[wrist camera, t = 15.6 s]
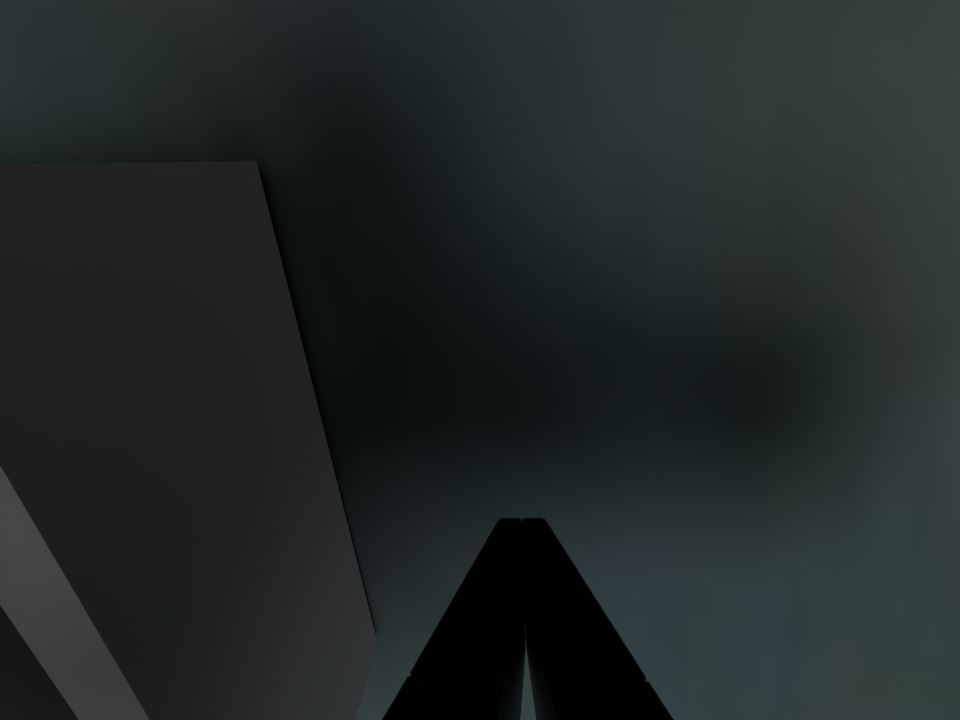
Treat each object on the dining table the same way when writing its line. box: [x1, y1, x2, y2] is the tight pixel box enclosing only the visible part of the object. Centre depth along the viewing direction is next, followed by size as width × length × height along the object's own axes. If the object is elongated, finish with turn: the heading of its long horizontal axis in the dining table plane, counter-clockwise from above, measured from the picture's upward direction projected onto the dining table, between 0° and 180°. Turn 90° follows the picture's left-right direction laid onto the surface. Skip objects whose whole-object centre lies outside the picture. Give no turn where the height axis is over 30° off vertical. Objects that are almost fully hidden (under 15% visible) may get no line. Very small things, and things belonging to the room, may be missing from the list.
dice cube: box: [0, 605, 79, 720], centre depth 9 cm, size 5×5×5 cm
